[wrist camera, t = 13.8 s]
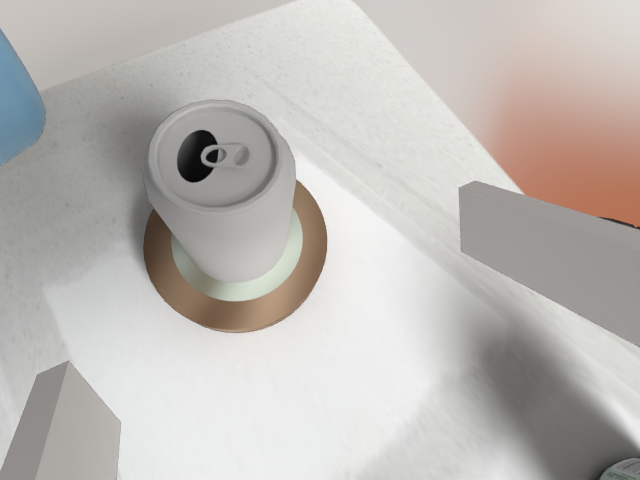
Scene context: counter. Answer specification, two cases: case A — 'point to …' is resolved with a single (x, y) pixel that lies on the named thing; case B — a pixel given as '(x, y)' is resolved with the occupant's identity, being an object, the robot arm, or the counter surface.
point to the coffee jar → (622, 470)
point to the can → (223, 187)
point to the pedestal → (243, 297)
